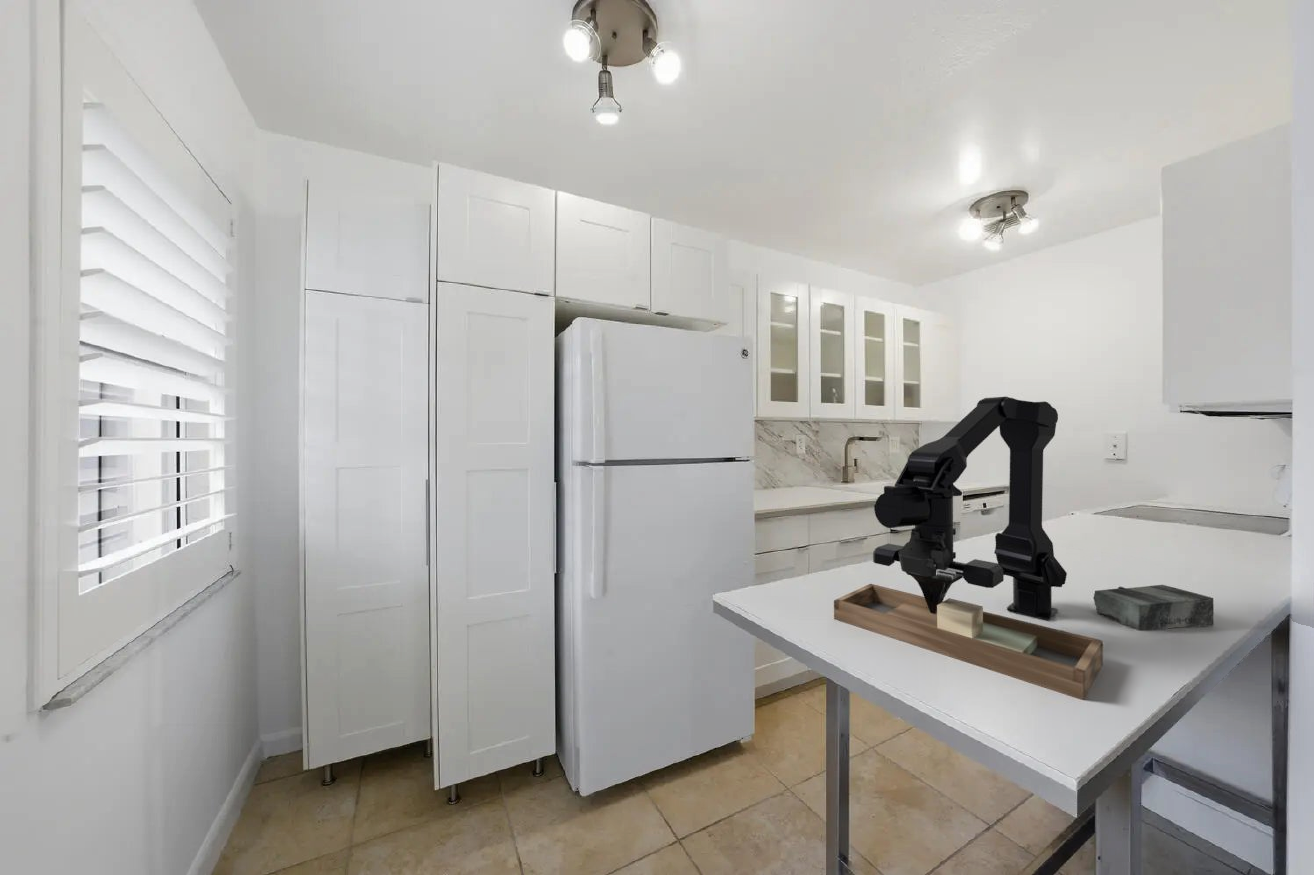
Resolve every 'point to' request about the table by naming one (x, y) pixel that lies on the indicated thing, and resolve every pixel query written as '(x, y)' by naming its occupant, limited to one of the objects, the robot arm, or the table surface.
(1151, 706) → the table surface
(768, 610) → the table surface
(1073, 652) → the tray
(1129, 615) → the stone block
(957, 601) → the beech block
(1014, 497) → the robot arm
